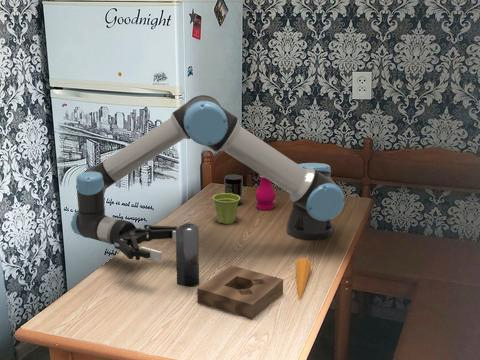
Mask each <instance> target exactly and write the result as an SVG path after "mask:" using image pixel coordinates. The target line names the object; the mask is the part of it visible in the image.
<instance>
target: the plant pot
mask: <svg viewBox="0 0 480 360" xmlns="http://www.w3.org/2000/svg"><path fill="white" fill-rule="evenodd" d="M212 200H213V203H214V204H215V205H214V206H215V211H216V219H217V222H218V223H220V224H224V225H230V224H233V223H235V222H236V218H237V211H238V206H239V205H238V203H239V200H240V196H238V195H236V194H230V193H225V192H221V193H218V194H214V195H213V196H212Z"/></svg>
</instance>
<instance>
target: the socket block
mask: <svg viewBox="0 0 480 360" xmlns="http://www.w3.org/2000/svg"><path fill="white" fill-rule="evenodd" d="M196 290H197V291H196V292H197V293H196V296H197V297H196V300H197V303H198V304H200V305H204V306H207V307H211V308H214V309H217V310H219V311H224V312H225V313H230V314H232V315H236V316H239V317H243V318H244V319H245V318H246V319H248V320H252V321H253V320H254V319H255V318H257V316H258V315H260V314H261V313H262V312H264V310H265V309H266V308H268V307H269V306H271V304H273V302H275V301H276V300H277V299H278V298H279V297H280V296H282V295H283V294H284V279H283V278H280V277H276V276H273V275H269V274H265V273H261V272H257V271H254V270H250V269H247V268H244V267H243V268H242V267H239V266H235V265H229V266H227V267H226V268H224V269H223V270H222V271H220V272H218V273H217V274H216V275H214V276H213V277H212V278H210V279H209V280H207V281H205V282H204V283H203V284H201V285H200V286H198V287H197V288H196ZM282 293H283V294H282Z"/></svg>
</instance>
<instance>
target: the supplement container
mask: <svg viewBox="0 0 480 360" xmlns="http://www.w3.org/2000/svg"><path fill="white" fill-rule="evenodd" d="M223 178H224V193H230V194H236V195H238V196H240V200H239V203H238V206H241V205H242V204H243V179H244V178H243V175H239V174H233V173H232V174H226V175H225V176H224V177H223Z"/></svg>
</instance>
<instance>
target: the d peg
mask: <svg viewBox="0 0 480 360" xmlns="http://www.w3.org/2000/svg"><path fill="white" fill-rule="evenodd" d="M176 227H177V228H176V241H175V250H176V251H175V255H176V256H175V257H176V258H175V259H176V260H175V261H176V262H175V263H176V265H175V266H176V285H179V286H182V287H186V288H192V287H196V286H198V285H199V284H200V242H199V241H200V233H199V232H200V231H199V229H200V228H199V225H197V224H194V223H190V222H185V223H183V224H181V225H179V226H176Z"/></svg>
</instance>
